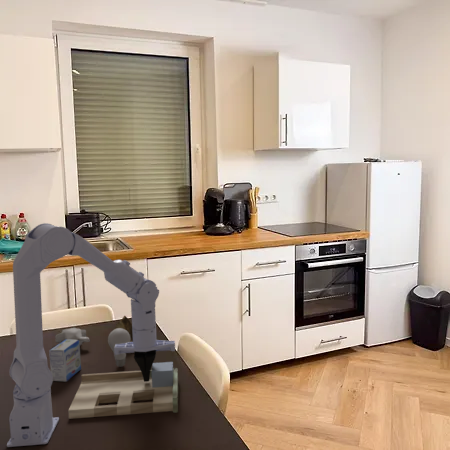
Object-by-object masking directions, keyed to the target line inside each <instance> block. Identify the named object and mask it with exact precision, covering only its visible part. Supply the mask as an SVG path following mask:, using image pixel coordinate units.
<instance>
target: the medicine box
mask: <svg viewBox="0 0 450 450" xmlns="http://www.w3.org/2000/svg"><path fill="white" fill-rule="evenodd" d="M80 346H81V345H80ZM80 346H79V340H73V339H66V340H64V341H63V342H61V343H58V344H56V345H55V346H53V347H52V348H51V349H49V350H48V351H49V352H48V353H49V365H50V371H51V373H52V375H53V382H65V383H67V382H68V381H69V380H70V379H72V378H73V377H74V376H75V375H76V374H77V373H78V372H79V371H81V370H82V362H81V360H82V359H81V348H80Z"/></svg>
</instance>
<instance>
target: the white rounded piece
mask: <svg viewBox="0 0 450 450" xmlns="http://www.w3.org/2000/svg"><path fill="white" fill-rule="evenodd" d="M54 337H55V343H58V344H60V343H61V342H63V341H64V340H66V339H73V340H79V346H81V345H83V343H88V342H91V340H90V337H88V336H87V330H86V329H80V328H76V327H71V328H66V329H61V333H58V334H56V335H55V336H54Z"/></svg>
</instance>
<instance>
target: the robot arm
mask: <svg viewBox="0 0 450 450" xmlns="http://www.w3.org/2000/svg"><path fill="white" fill-rule="evenodd" d="M66 255H69V256H70V257H71V256H76V257H77V256H78V257H80V258H81V259H83V260H85V261H86V262H88V263H89V264H91V265H93V266H94V267H96V268H97V269H98V270H100V271H102V272H103V275H104V279H105V281H106V282H108V283H109V284H110V285H112V286H114V287H115V288H117V289H118V290H120V291H121V292H123V293H124V294H126V296H127V298H130V307H131V308H130V309H131V311H130V312H131V323H132V334H133V342H128V343H123V344H116V345H115V347H114V350H115V355H119V354H120V353H126V354H131V353H132V354H133V353H134V356H133V358H134V361H135V362H136V364H137V366H138V368H139V371H140V370H141V372H142V375H143V379H144V382H146V381H149V379H150V370H152V365H153V363H155V362H154V361H155V359H156V357H157V352H164V351H170V352H175V351H176V341H175V340H161V339H160V340H159V339H158V338H157V320H156V301H157V299H158V297H159V294H160V290H159V289H158V286H157V284H156V282H155V281H153V280H150V279H148V278H145V273H143V272H142V271H137V270H136V269H134V268H133V267H131V266H130V265H131V262H129V261H128V260H126V259H123V260H122V259H115V260H112V259H111V258H109V257H108V255H106V254H105V253H103V252H102V251H100V249H98V248H97V247H96V246H95V245H93V244H92V243H91V242H89V241H88V240H87V239H85V238H83V236H81V235H79V234H78V233H75V232H72V231H71V230H70V229H68V228H67V227H65V226H61V225H60V226H59V225H55V224H54V225H53V224H51V223H45V222H43V223H40V224H38V225H36V226H35V227H34V228H33V229H31V230H30V231H29V232H27V234H26V235H25V240H24V241H23V244H22V245H21V247H20V249H19V250H18V252H17V254H16V256H15V258H14V259H13V261H12V275H13V279H12V280H13V295H14V296H13V297H14V319H15V320H14V321H15V338H16V339H15V340H16V341H15V342H16V347H15V349H14V351H13V359H12V362H11V364H10V366H9V376H10V378H11V379H12V380H13V381H14V382H15V385H14V388H13V391H12V394H13V395H12V396H13V397H12V398H13V407H12V410H11V412H10V414H9V418H8V419H9V420H8V421H9V431H10V433H9V434H10V438H9V440H8V441H7V444H6V447H7V448H12V447H23V446H37V445H46V444H48V443H49V441H50V439H51V438H52V436H53V433H54V431H55V429H56V426H57V425H58V423H59V421H60V417H59V416H57V417H54V416H53V405H52V394H51V393H52V389H51V387H52V385H53V382H54V381H53V375H52V373H51V369H50V368H49V366H48V358H47V354H46V351H45V347H44V333H43V332H44V331H43V310H42V309H43V308H42V286H41V284H42V283H41V273H42V271H44V269H47V267H48V266H49V265H50V264H51V263H53V262H55V261H57V260H59V259H61V258H63V257H66Z"/></svg>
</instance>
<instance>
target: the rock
mask: <svg viewBox="0 0 450 450" xmlns="http://www.w3.org/2000/svg"><path fill="white" fill-rule="evenodd" d="M117 328H122V329H125V330H126V331H128V333H129V335H130V342H133V334H132V321H130V319H129V318H128V317H127V315H124V316H123V317H122V318H121V319H120V320H119V321H118V322H117V323H116V324H115V327H114V329H113V330H115V329H117Z"/></svg>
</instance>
